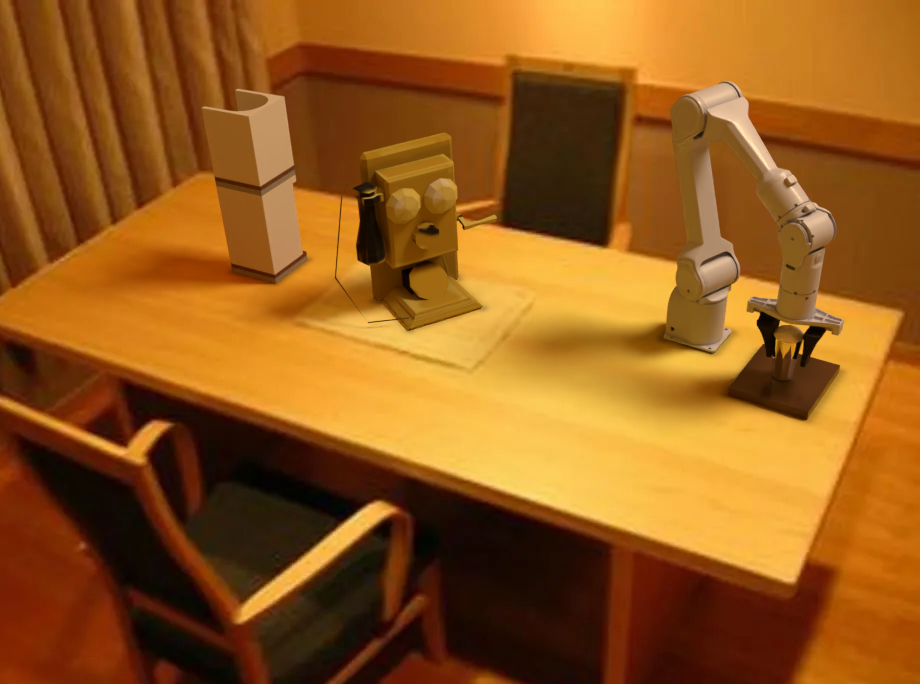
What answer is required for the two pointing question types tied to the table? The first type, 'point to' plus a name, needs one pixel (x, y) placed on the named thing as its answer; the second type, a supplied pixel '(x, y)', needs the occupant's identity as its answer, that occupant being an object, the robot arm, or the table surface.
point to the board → (784, 384)
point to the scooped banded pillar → (256, 185)
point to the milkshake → (786, 351)
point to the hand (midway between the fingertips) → (787, 359)
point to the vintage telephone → (412, 230)
